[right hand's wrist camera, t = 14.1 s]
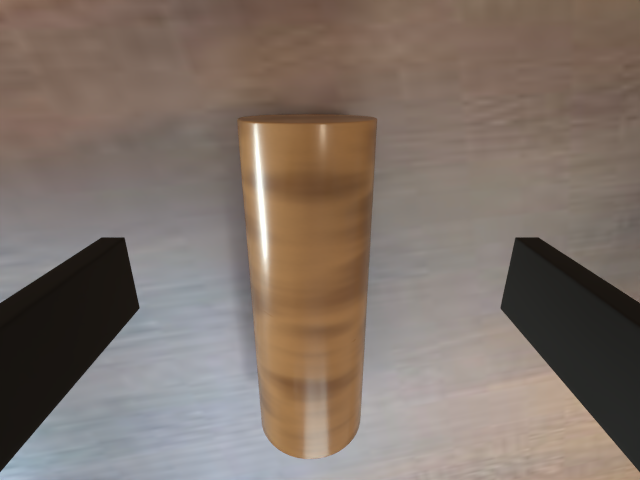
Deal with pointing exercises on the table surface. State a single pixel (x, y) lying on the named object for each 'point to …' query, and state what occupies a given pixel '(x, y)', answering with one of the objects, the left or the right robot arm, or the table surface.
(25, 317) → the right robot arm
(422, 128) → the table surface
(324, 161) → the rod
